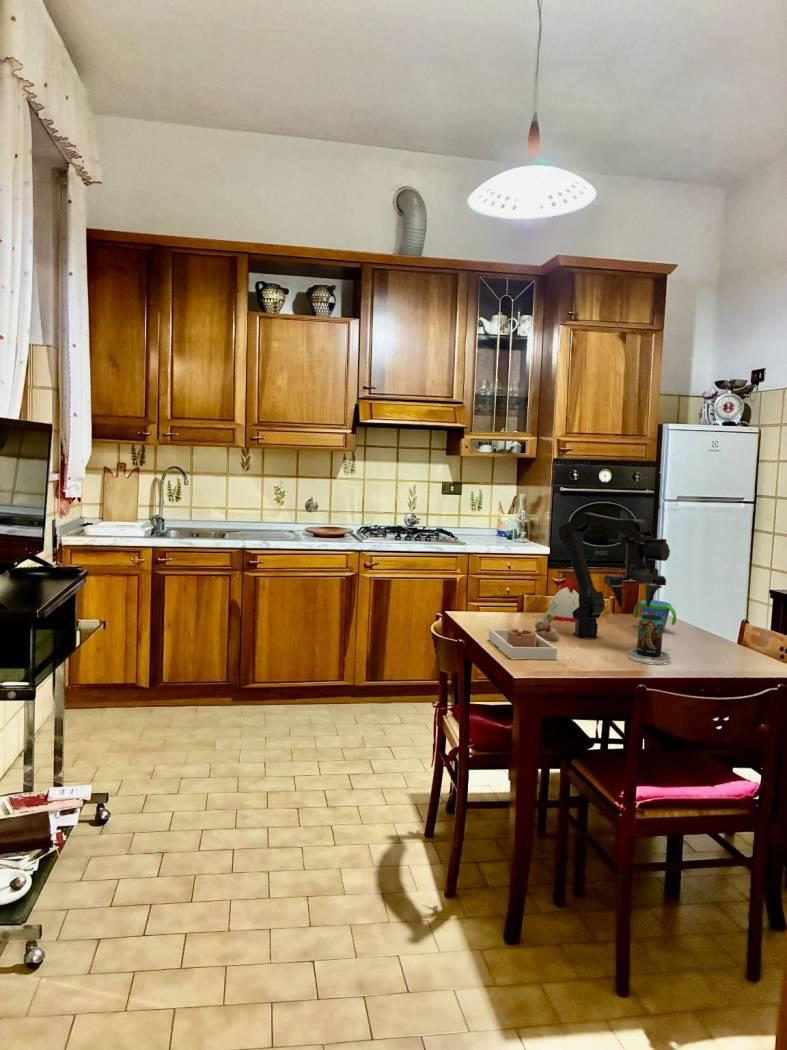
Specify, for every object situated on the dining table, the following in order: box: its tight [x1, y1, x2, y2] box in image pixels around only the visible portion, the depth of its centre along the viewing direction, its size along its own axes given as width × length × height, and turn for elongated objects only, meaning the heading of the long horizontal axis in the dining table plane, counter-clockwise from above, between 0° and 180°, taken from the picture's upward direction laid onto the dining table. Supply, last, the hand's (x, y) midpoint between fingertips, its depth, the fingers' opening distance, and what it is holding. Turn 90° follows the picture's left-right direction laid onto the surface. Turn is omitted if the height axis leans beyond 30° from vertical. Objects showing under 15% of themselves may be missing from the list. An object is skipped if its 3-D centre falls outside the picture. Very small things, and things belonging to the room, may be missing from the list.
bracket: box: [507, 628, 537, 647], centre depth 237 cm, size 18×8×7 cm, turn 166°
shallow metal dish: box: [627, 647, 672, 664], centre depth 233 cm, size 12×12×2 cm
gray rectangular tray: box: [488, 629, 558, 660], centre depth 237 cm, size 14×24×4 cm, turn 8°
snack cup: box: [633, 599, 677, 632], centre depth 278 cm, size 16×10×10 cm
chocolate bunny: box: [534, 610, 560, 642], centre depth 252 cm, size 6×8×10 cm
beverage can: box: [636, 614, 664, 657], centre depth 233 cm, size 7×7×12 cm
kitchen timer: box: [547, 578, 580, 623], centre depth 292 cm, size 14×14×15 cm
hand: (634, 606), depth 248 cm, fingers open, 9 cm apart
